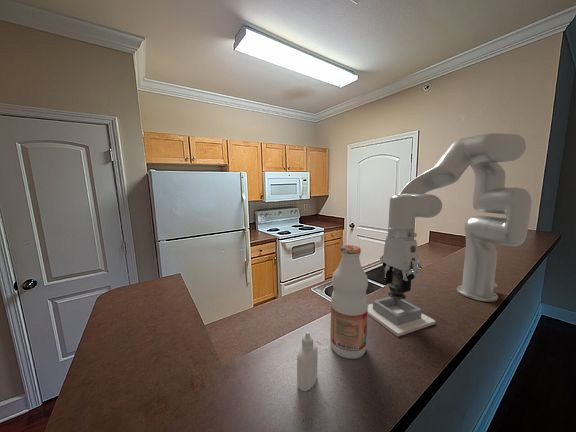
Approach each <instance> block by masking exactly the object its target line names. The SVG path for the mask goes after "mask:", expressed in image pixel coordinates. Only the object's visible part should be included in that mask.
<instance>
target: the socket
mask: <svg viewBox="0 0 576 432" xmlns="http://www.w3.org/2000/svg"><path fill="white" fill-rule="evenodd" d="M367 316H369V317H371V318H372V319H373V320H375V321H376V322H377V323H378V324H380V325H382V326H383V327H384V328H386V329H387V330H388V331H389V332H391V333H392V334H393V335H395V337H401V336H405V335H407V334H410V333H413V332H415V331H418V330H422V329H424V328H427V327H430V326H433V325H436V320H435V319H433V318H431V317H430V316H428V315H426V314H424V313H423V311H422V308H420V307H418V306H417V305H414V304H413V303H411V302H409V301H407V300H406V299H394V298H392V297H390V296H387V297H383V298H379V299H378V298H377V299H375V300H373V301H372V303H370V304H369V303H368V313H367Z"/></svg>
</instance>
